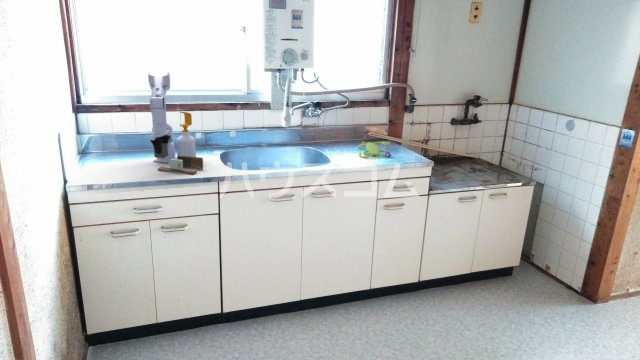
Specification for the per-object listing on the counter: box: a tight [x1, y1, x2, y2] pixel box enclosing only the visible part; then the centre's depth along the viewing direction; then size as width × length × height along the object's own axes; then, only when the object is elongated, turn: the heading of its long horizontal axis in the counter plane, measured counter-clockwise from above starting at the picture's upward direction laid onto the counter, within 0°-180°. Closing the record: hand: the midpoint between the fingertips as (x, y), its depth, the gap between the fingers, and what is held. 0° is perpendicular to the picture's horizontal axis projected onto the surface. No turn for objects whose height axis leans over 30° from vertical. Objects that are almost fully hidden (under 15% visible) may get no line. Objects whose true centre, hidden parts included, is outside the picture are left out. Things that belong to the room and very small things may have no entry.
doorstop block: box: [153, 143, 168, 159], centre depth 213 cm, size 4×4×6 cm
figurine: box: [357, 141, 392, 159], centre depth 261 cm, size 18×27×6 cm
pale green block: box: [169, 159, 184, 170], centre depth 213 cm, size 2×6×4 cm, turn 76°
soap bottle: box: [176, 111, 197, 157], centre depth 233 cm, size 9×9×25 cm
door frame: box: [157, 154, 204, 176], centre depth 217 cm, size 10×18×6 cm, turn 76°
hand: (161, 152), depth 213 cm, fingers closed on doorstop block, 4 cm apart
